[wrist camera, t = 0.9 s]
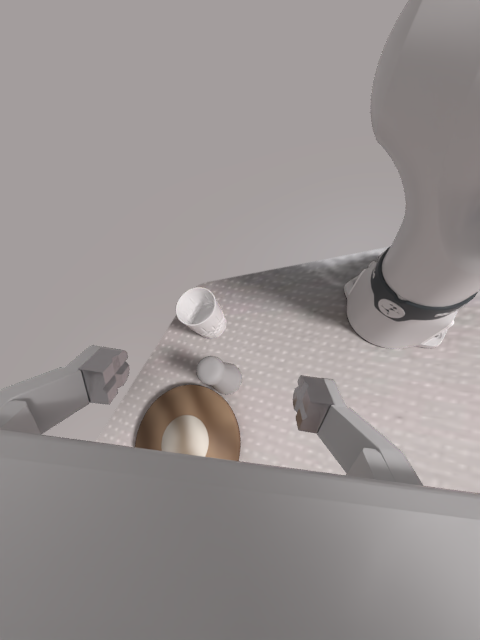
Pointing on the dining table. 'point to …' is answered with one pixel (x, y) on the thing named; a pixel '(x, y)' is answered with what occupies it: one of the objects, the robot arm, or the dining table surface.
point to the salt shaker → (219, 375)
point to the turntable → (191, 424)
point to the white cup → (201, 312)
